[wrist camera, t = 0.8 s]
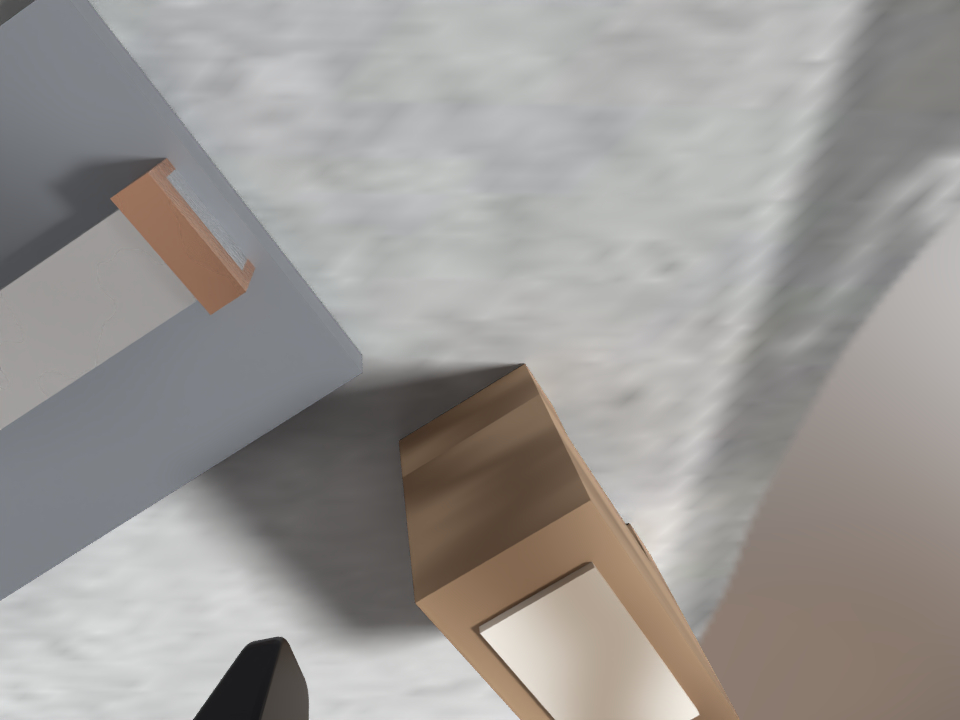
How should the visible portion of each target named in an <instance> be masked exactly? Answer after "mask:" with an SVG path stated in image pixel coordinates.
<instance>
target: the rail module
mask: <svg viewBox="0 0 960 720" xmlns="http://www.w3.org/2000/svg"><path fill="white" fill-rule="evenodd" d="M399 448H400V458H401V468H402V478H403V488H404V498H405V508H406V518H407V527H408V537H409V547H410V557H411V567H412V577H413V587H414V597H415V604H416V605H417V606H418V607H419V608H420V609H421V610H422V611H423V612H424V613H425V615H426V616H427V617H428V618H429V619H430V620H431V621H432V622H433V623H434V625H435V626H436V627H437V628H438V629H439V630H440V631H441V632H442V633H443V634H444V636H445V637H446V638H447V639H448V640H449V641H450V642H451V643H452V644H453V646H454V647H455V648H456V649H457V650H458V651H459V652H460V653H461V654H462V655H463V657H464V658H465V659H466V660H467V661H468V662H469V663H470V664H471V665H472V667H473V668H474V669H475V670H476V671H477V672H478V673H479V674H480V675H481V676H482V678H483V679H484V680H485V681H486V682H487V683H488V684H489V685H490V686H491V688H492V689H493V690H494V691H495V692H496V693H497V694H498V695H499V696H500V697H501V699H502V700H503V701H504V702H505V703H506V704H507V705H508V706H509V707H510V709H511V710H512V711H513V712H514V713H515V714H516V715H517V716H518V717H519V718H520V720H740V719H739V717H738V715H737V713H736V711H735V710H734V708H733V706H732V704H731V702H730V700H729V699H728V697H727V695H726V693H725V691H724V689H723V687H722V686H721V684H720V682H719V680H718V678H717V677H716V675H715V673H714V671H713V669H712V667H711V665H710V664H709V662H708V660H707V658H706V656H705V654H704V653H703V651H702V649H701V647H700V645H699V643H698V641H697V640H696V638H695V636H694V634H693V632H692V630H691V629H690V627H689V625H688V623H687V621H686V619H685V618H684V616H683V614H682V612H681V610H680V608H679V606H678V605H677V603H676V601H675V599H674V597H673V595H672V594H671V592H670V590H669V588H668V586H667V584H666V583H665V581H664V579H663V577H662V575H661V573H660V572H659V570H658V568H657V566H656V564H655V562H654V560H653V559H652V557H651V555H650V554H649V552H648V550H647V549H646V547H645V546H644V544H643V543H642V541H641V540H640V538H639V537H638V535H637V534H636V532H635V531H634V529H633V528H632V526H631V525H630V524H628V525H626V524H625V523H624V521H623V520H622V518H621V517H620V515H619V514H618V512H617V511H616V509H615V507H614V506H613V504H612V503H611V501H610V500H609V498H608V497H607V495H606V494H605V492H604V491H603V489H602V488H601V486H600V485H599V483H598V482H597V480H596V479H595V477H594V476H593V474H592V473H591V471H590V470H589V468H588V467H587V465H586V464H585V462H584V460H583V459H582V457H581V456H580V454H579V453H578V451H577V450H576V448H575V447H574V445H573V444H572V442H571V441H570V439H569V438H568V436H567V434H566V432H565V430H564V428H563V426H562V424H561V422H560V420H559V418H558V416H557V414H556V412H555V410H554V408H553V406H552V404H551V402H550V401H549V399H548V398H547V396H546V395H545V393H544V392H543V390H542V389H541V387H540V386H539V384H538V383H537V381H536V380H535V378H534V377H533V375H532V374H531V372H530V370H529V369H528V367H527V366H526V364H524V365H522V366H520V367H519V368H517V369H515V370H514V371H512V372H511V373H509V374H507V375H506V376H504V377H502V378H501V379H499V380H497V381H496V382H494V383H493V384H491V385H489V386H488V387H486V388H484V389H483V390H481V391H480V392H478V393H476V394H475V395H473V396H471V397H470V398H468V399H467V400H465V401H463V402H462V403H460V404H458V405H457V406H455V407H454V408H452V409H450V410H449V411H447V412H445V413H444V414H442V415H440V416H439V417H437V418H436V419H434V420H432V421H431V422H429V423H427V424H426V425H424V426H423V427H421V428H419V429H418V430H416V431H414V432H413V433H411V434H410V435H408V436H406V437H405V438H403V439H401V440H400V441H399Z"/></svg>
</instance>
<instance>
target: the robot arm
mask: <svg viewBox="0 0 960 720" xmlns="http://www.w3.org/2000/svg"><path fill="white" fill-rule="evenodd" d="M193 720H309V697H308V689H307V685H306V681H305V678H304V676H303V674H302V672H301V670H300V667H299V665H298V663H297V661H296V658H295V656H294V654H293V652H292V650H291V647H290V645H289V643H288V642H287V640H286V639H285V638H283V637H274V638H268V639H263V640H258V641H253V642H251V643H249V644H248V645H247V646H245V647H244V649H243V650H242V651H241V653H240V654H239V655H238V657H237V658H236V660H235V661H234V663H233V664H232V665H231V667H230V668H229V670H228V671H227V672H226V674H225V675H224V677H223V678H222V680H221V681H220V682H219V684H218V685H217V687H216V688H215V689H214V691H213V692H212V694H211V695H210V696H209V698H208V699H207V701H206V702H205V704H204V705H203V706H202V708H201V709H200V711H199V712H198V713H197V715H196V716H195V718H194V719H193Z"/></svg>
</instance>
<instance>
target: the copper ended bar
mask: <svg viewBox="0 0 960 720" xmlns="http://www.w3.org/2000/svg"><path fill="white" fill-rule="evenodd" d="M110 199H111V200H112V202H113V203H114V204H115V205H116V206H117V207H118V209H116V210H115V211H113V212H112V213H111V214H109V215H108V216H106V217H105V218H103V219H102V220H100V221H99V222H97V223H96V224H94V225H93V226H92V227H90V228H89V229H87V230H86V231H84V232H83V233H81V234H80V235H78V236H77V237H75V238H74V239H72V240H71V241H70V242H68V243H67V244H65V245H64V246H62V247H61V248H59V249H58V250H56V251H55V252H53V253H52V254H50V255H49V256H48V257H46V258H45V259H43V260H42V261H40V262H39V263H37V264H36V265H34V266H33V267H31V268H30V269H29V270H27V271H26V272H24V273H23V274H21V275H20V276H18V277H17V278H15V279H14V280H12V281H11V282H9V283H8V284H7V285H5V286H4V287H2V288H1V289H0V430H1V429H3V428H4V427H6V426H7V425H9V424H10V423H12V422H13V421H15V420H16V419H18V418H19V417H21V416H22V415H24V414H25V413H27V412H28V411H30V410H31V409H33V408H34V407H36V406H38V405H39V404H41V403H42V402H44V401H45V400H47V399H48V398H50V397H51V396H53V395H54V394H56V393H57V392H59V391H60V390H62V389H63V388H65V387H66V386H68V385H69V384H71V383H72V382H74V381H75V380H77V379H79V378H80V377H82V376H83V375H85V374H86V373H88V372H89V371H91V370H92V369H94V368H95V367H97V366H98V365H100V364H101V363H103V362H104V361H106V360H107V359H109V358H110V357H112V356H113V355H115V354H117V353H118V352H120V351H121V350H123V349H124V348H126V347H127V346H129V345H130V344H132V343H133V342H135V341H136V340H138V339H139V338H141V337H142V336H144V335H145V334H147V333H148V332H150V331H151V330H153V329H154V328H156V327H158V326H159V325H161V324H162V323H164V322H165V321H167V320H168V319H170V318H171V317H173V316H174V315H176V314H177V313H179V312H180V311H182V310H183V309H185V308H186V307H188V306H189V305H191V304H192V303H194V302H195V301H197V300H198V301H199V302H200V303H201V305H202V306H203V307H204V308H205V309H206V310H207V312H208V313H209V314H210V315H212V314H213V313H215V312H216V311H218V310H219V309H221V308H222V307H224V306H225V305H227V304H228V303H230V302H231V301H233V300H234V299H236V298H238V297H239V296H241V295H242V294H244V293H245V292H246V291H247V288H248V286H249V283H250V281H251V278H252V275H253V273H254V270H255V267H254V266H253V264H252V263H251V262H250V261H249V259H248V258H247V257H246V256H245V254H244V253H243V252H242V251H241V249H240V248H239V247H238V246H237V244H236V243H235V242H234V241H233V239H232V238H231V237H230V236H229V234H228V233H227V232H226V231H225V229H224V228H223V227H222V226H221V224H220V223H219V222H218V221H217V219H216V218H215V217H214V216H213V215H212V213H211V212H210V211H209V210H208V208H207V207H206V206H205V205H204V203H203V202H202V201H201V200H200V198H199V197H198V196H197V195H196V193H195V192H194V191H193V190H192V188H191V187H190V186H189V185H188V183H187V182H186V181H185V180H184V178H183V177H182V176H181V175H180V173H179V172H178V171H177V170H176V168H175V167H174V166H173V165H172V163H171V162H170V161H169V160H168V158H166V159H165V160H163V161H162V162H160V163H159V164H157V165H156V166H154V167H153V168H152V169H150V170H149V171H147V172H146V173H144V174H143V175H141V176H140V177H138V178H137V179H135V180H134V181H133V182H131V183H130V184H129V185H127V186H126V187H125V188H123V189H122V190H121V191H119V192H118V193H117V194H115V195H114V196H113V197H111V198H110Z"/></svg>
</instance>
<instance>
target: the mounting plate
mask: <svg viewBox="0 0 960 720" xmlns="http://www.w3.org/2000/svg"><path fill="white" fill-rule="evenodd" d="M166 158H168V160H169V161H170V162H171V163H172V165H173V166H174V167H175V168H176V170H177V171H178V172H179V173H180V175H181V176H182V177H183V178H184V180H185V181H186V182H187V183H188V185H189V186H190V187H191V188H192V190H193V191H194V192H195V193H196V195H197V196H198V197H199V198H200V200H201V201H202V202H203V203H204V205H205V206H206V207H207V208H208V210H209V211H210V212H211V213H212V215H213V216H214V217H215V218H216V219H217V221H218V222H219V223H220V224H221V226H222V227H223V228H224V229H225V231H226V232H227V233H228V234H229V236H230V237H231V238H232V239H233V241H234V242H235V243H236V244H237V246H238V247H239V248H240V249H241V251H242V252H243V253H244V254H245V256H246V257H247V258H248V259H249V261H250V262H251V263H252V264H253V266H254V267H255V270H254V273H253V275H252V278H251V281H250V283H249V286H248V288H247V291H246V292H245V293H244V294H242V295H241V296H239V297H238V298H236V299H234V300H233V301H231V302H230V303H228V304H227V305H225V306H224V307H222V308H221V309H219V310H218V311H216V312H215V313H213V314H212V315H210V314H209V313H208V312H207V310H206V309H205V308H204V307H203V306H202V305H201V303H200V302H199V301H198V300H197V301H195V302H194V303H192V304H191V305H189V306H188V307H186V308H185V309H183V310H182V311H180V312H179V313H177V314H176V315H174V316H173V317H171V318H170V319H168V320H167V321H165V322H164V323H162V324H161V325H159V326H158V327H156V328H154V329H153V330H151V331H150V332H148V333H147V334H145V335H144V336H142V337H141V338H139V339H138V340H136V341H135V342H133V343H132V344H130V345H129V346H127V347H126V348H124V349H123V350H121V351H120V352H118V353H117V354H115V355H113V356H112V357H110V358H109V359H107V360H106V361H104V362H103V363H101V364H100V365H98V366H97V367H95V368H94V369H92V370H91V371H89V372H88V373H86V374H85V375H83V376H82V377H80V378H79V379H77V380H75V381H74V382H72V383H71V384H69V385H68V386H66V387H65V388H63V389H62V390H60V391H59V392H57V393H56V394H54V395H53V396H51V397H50V398H48V399H47V400H45V401H44V402H42V403H41V404H39V405H38V406H36V407H34V408H33V409H31V410H30V411H28V412H27V413H25V414H24V415H22V416H21V417H19V418H18V419H16V420H15V421H13V422H12V423H10V424H9V425H7V426H6V427H4V428H3V429H1V430H0V600H2V599H4V598H5V597H7V596H8V595H10V594H12V593H13V592H15V591H16V590H18V589H19V588H21V587H23V586H24V585H26V584H27V583H29V582H31V581H32V580H34V579H35V578H37V577H39V576H40V575H42V574H43V573H45V572H46V571H48V570H50V569H51V568H53V567H54V566H56V565H58V564H59V563H61V562H62V561H64V560H66V559H67V558H69V557H70V556H72V555H74V554H75V553H77V552H78V551H80V550H81V549H83V548H85V547H86V546H88V545H89V544H91V543H93V542H94V541H96V540H97V539H99V538H101V537H102V536H104V535H105V534H107V533H108V532H110V531H112V530H113V529H115V528H116V527H118V526H120V525H121V524H123V523H124V522H126V521H128V520H129V519H131V518H132V517H134V516H136V515H137V514H139V513H140V512H142V511H143V510H145V509H147V508H148V507H150V506H151V505H153V504H155V503H156V502H158V501H159V500H161V499H163V498H164V497H166V496H167V495H169V494H170V493H172V492H174V491H175V490H177V489H178V488H180V487H182V486H183V485H185V484H186V483H188V482H190V481H191V480H193V479H194V478H196V477H198V476H199V475H201V474H202V473H204V472H205V471H207V470H209V469H210V468H212V467H213V466H215V465H217V464H218V463H220V462H221V461H223V460H225V459H226V458H228V457H229V456H231V455H232V454H234V453H236V452H237V451H239V450H240V449H242V448H244V447H245V446H247V445H248V444H250V443H252V442H253V441H255V440H256V439H258V438H260V437H261V436H263V435H264V434H266V433H267V432H269V431H271V430H272V429H274V428H275V427H277V426H279V425H280V424H282V423H283V422H285V421H287V420H288V419H290V418H291V417H293V416H294V415H296V414H298V413H299V412H301V411H302V410H304V409H306V408H307V407H309V406H310V405H312V404H314V403H315V402H317V401H318V400H320V399H321V398H323V397H325V396H326V395H328V394H329V393H331V392H333V391H334V390H336V389H337V388H339V387H341V386H342V385H344V384H345V383H347V382H349V381H350V380H352V379H353V378H355V377H356V376H358V375H360V374H361V373H362V354H361V353H360V351H359V350H358V349H357V347H356V346H355V345H354V344H353V342H352V341H351V340H350V338H349V337H348V336H347V335H346V333H345V332H344V331H343V329H342V328H341V327H340V326H339V324H338V323H337V322H336V320H335V319H334V318H333V316H332V315H331V314H330V313H329V311H328V310H327V309H326V307H325V306H324V305H323V304H322V302H321V301H320V300H319V298H318V297H317V296H316V295H315V293H314V292H313V291H312V289H311V288H310V287H309V286H308V284H307V283H306V282H305V280H304V279H303V278H302V276H301V275H300V274H299V273H298V271H297V270H296V269H295V267H294V266H293V265H292V264H291V262H290V261H289V260H288V258H287V257H286V256H285V255H284V253H283V252H282V251H281V249H280V248H279V247H278V245H277V244H276V243H275V242H274V240H273V239H272V238H271V236H270V235H269V234H268V233H267V231H266V230H265V229H264V227H263V226H262V225H261V224H260V222H259V221H258V220H257V218H256V217H255V216H254V214H253V213H252V212H251V211H250V209H249V208H248V207H247V205H246V204H245V203H244V202H243V200H242V199H241V198H240V196H239V195H238V194H237V193H236V191H235V190H234V189H233V187H232V186H231V185H230V184H229V182H228V181H227V180H226V178H225V177H224V176H223V174H222V173H221V172H220V171H219V169H218V168H217V167H216V165H215V164H214V163H213V162H212V160H211V159H210V158H209V156H208V155H207V154H206V153H205V151H204V150H203V149H202V147H201V146H200V145H199V143H198V142H197V141H196V140H195V138H194V137H193V136H192V134H191V133H190V132H189V131H188V129H187V128H186V127H185V125H184V124H183V123H182V122H181V120H180V119H179V118H178V116H177V115H176V114H175V112H174V111H173V110H172V109H171V107H170V106H169V105H168V103H167V102H166V101H165V100H164V98H163V97H162V96H161V94H160V93H159V92H158V91H157V89H156V88H155V87H154V85H153V84H152V83H151V82H150V80H149V79H148V78H147V76H146V75H145V74H144V72H143V71H142V70H141V69H140V67H139V66H138V65H137V63H136V62H135V61H134V60H133V58H132V57H131V56H130V54H129V53H128V52H127V51H126V49H125V48H124V47H123V45H122V44H121V43H120V41H119V40H118V39H117V38H116V36H115V35H114V34H113V32H112V31H111V30H110V29H109V27H108V26H107V25H106V23H105V22H104V21H103V20H102V18H101V17H100V16H99V14H98V13H97V12H96V10H95V9H94V8H93V7H92V5H91V4H90V3H89V1H88V0H35V1H34V2H32V3H31V4H30V5H28V6H27V7H25V8H24V9H23V10H21V11H20V12H19V13H17V14H16V15H14V16H13V17H12V18H10V19H9V20H8V21H6V22H5V23H3V24H2V25H1V26H0V289H1V288H2V287H4V286H5V285H7V284H8V283H9V282H11V281H12V280H14V279H15V278H17V277H18V276H20V275H21V274H23V273H24V272H26V271H27V270H29V269H30V268H31V267H33V266H34V265H36V264H37V263H39V262H40V261H42V260H43V259H45V258H46V257H48V256H49V255H50V254H52V253H53V252H55V251H56V250H58V249H59V248H61V247H62V246H64V245H65V244H67V243H68V242H70V241H71V240H72V239H74V238H75V237H77V236H78V235H80V234H81V233H83V232H84V231H86V230H87V229H89V228H90V227H92V226H93V225H94V224H96V223H97V222H99V221H100V220H102V219H103V218H105V217H106V216H108V215H109V214H111V213H112V212H113V211H115V210H116V209H118V207H117V206H116V205H115V204H114V203H113V202H112V200H111V199H110V198H111V197H113V196H114V195H115V194H117V193H118V192H119V191H121V190H122V189H123V188H125V187H126V186H127V185H129V184H130V183H131V182H133V181H134V180H135V179H137V178H138V177H140V176H141V175H143V174H144V173H146V172H147V171H149V170H150V169H152V168H153V167H154V166H156V165H157V164H159V163H160V162H162V161H163V160H165V159H166Z"/></svg>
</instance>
